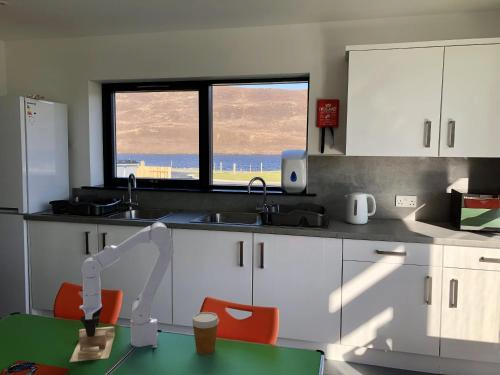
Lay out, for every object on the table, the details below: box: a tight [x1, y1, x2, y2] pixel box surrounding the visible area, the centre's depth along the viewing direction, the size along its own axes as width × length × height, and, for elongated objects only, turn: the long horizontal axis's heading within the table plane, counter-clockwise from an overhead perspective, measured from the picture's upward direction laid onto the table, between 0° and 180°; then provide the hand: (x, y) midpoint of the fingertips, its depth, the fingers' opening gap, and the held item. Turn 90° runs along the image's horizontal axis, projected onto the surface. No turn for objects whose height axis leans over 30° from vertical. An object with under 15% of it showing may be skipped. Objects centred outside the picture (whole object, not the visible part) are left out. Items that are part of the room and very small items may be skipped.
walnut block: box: [80, 330, 107, 351], centre depth 138 cm, size 8×4×5 cm, turn 102°
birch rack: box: [69, 326, 115, 363], centre depth 138 cm, size 12×16×4 cm
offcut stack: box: [78, 346, 101, 361], centre depth 131 cm, size 7×2×3 cm, turn 102°
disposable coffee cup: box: [191, 311, 220, 355], centre depth 138 cm, size 10×10×12 cm
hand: (92, 331), depth 138 cm, fingers open, 7 cm apart
